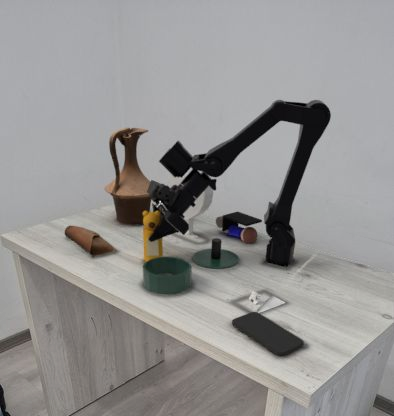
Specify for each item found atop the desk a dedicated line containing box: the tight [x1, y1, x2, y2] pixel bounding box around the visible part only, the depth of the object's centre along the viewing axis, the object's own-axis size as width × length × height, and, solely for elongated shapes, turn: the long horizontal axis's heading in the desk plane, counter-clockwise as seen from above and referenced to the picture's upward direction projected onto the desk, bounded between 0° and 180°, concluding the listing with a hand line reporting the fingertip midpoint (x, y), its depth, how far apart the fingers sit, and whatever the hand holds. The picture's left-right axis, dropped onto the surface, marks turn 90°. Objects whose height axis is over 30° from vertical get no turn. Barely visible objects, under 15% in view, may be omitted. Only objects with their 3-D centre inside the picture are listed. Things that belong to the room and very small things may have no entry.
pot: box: [142, 256, 193, 295], centre depth 112 cm, size 12×12×5 cm
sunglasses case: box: [64, 225, 117, 258], centre depth 132 cm, size 18×7×7 cm
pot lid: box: [192, 237, 240, 270], centre depth 124 cm, size 13×13×6 cm
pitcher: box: [104, 126, 152, 226], centre depth 143 cm, size 18×17×28 cm
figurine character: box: [215, 211, 263, 245], centre depth 138 cm, size 7×8×15 cm
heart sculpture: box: [166, 171, 214, 239], centre depth 135 cm, size 16×5×18 cm, turn 45°
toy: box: [142, 211, 164, 263], centre depth 120 cm, size 5×5×13 cm
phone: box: [231, 311, 305, 356], centre depth 95 cm, size 7×1×15 cm
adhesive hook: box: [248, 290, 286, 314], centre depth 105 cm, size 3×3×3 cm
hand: (147, 237), depth 120 cm, fingers closed on toy, 5 cm apart
